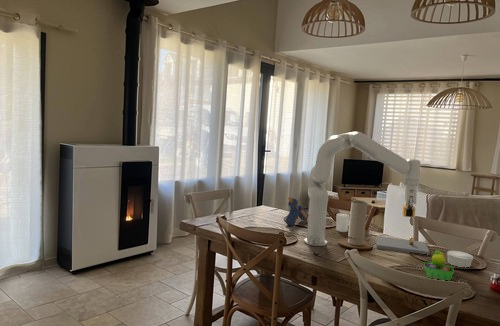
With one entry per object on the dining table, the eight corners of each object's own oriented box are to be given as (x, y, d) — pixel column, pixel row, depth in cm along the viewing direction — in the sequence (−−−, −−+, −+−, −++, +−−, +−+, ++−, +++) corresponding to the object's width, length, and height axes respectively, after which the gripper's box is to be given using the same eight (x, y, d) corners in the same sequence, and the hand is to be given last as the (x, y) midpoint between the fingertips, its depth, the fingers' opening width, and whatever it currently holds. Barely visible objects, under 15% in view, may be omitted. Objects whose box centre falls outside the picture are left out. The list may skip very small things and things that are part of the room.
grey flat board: (429, 255, 192) (429, 251, 192) (376, 248, 200) (376, 244, 199) (424, 245, 209) (424, 241, 209) (375, 239, 217) (376, 235, 217)
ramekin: (461, 270, 173) (462, 259, 173) (440, 262, 184) (441, 251, 183) (477, 267, 178) (478, 257, 177) (456, 259, 188) (457, 249, 188)
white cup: (339, 228, 237) (340, 212, 236) (350, 231, 231) (351, 215, 230) (332, 230, 231) (334, 214, 230) (343, 233, 226) (345, 217, 225)
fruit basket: (424, 278, 162) (426, 253, 161) (422, 271, 170) (424, 247, 169) (453, 283, 158) (456, 258, 157) (450, 276, 166) (453, 251, 165)
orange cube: (414, 217, 198) (415, 208, 198) (403, 216, 200) (404, 207, 200) (413, 215, 204) (414, 206, 203) (402, 214, 205) (403, 205, 205)
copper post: (413, 245, 201) (414, 238, 201) (409, 244, 202) (409, 238, 202) (413, 244, 203) (413, 237, 203) (408, 243, 204) (409, 237, 204)
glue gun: (303, 237, 248) (310, 217, 254) (288, 217, 225) (296, 196, 231) (294, 234, 251) (302, 215, 257) (279, 215, 228) (288, 194, 234)
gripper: (421, 185, 191) (418, 219, 193) (416, 180, 207) (414, 212, 209) (405, 183, 193) (402, 218, 195) (402, 179, 209) (399, 211, 211)
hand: (408, 214), depth 202 cm, fingers closed on orange cube, 5 cm apart
